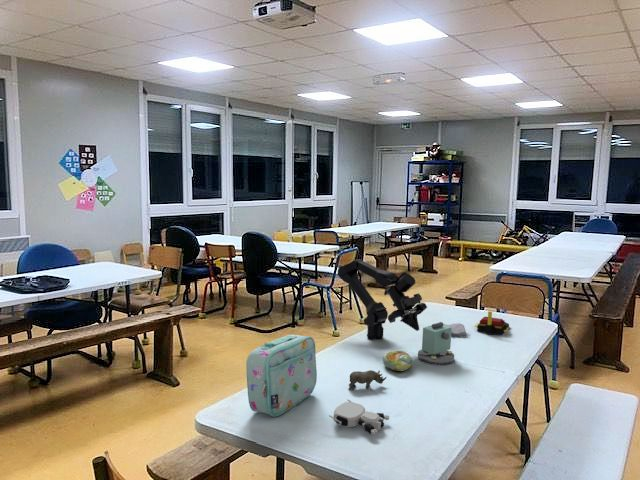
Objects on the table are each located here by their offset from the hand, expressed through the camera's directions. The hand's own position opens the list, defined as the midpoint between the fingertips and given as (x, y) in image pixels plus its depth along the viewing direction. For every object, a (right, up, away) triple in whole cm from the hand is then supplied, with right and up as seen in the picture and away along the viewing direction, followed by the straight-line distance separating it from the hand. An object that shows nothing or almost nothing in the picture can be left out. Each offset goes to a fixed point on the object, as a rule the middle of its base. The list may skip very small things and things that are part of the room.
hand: (418, 330), depth 208 cm
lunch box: (-52, -15, -48) cm, 72 cm away
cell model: (-11, -11, -16) cm, 22 cm away
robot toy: (-29, -17, -61) cm, 69 cm away
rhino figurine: (-24, -14, -34) cm, 44 cm away
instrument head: (+6, -6, -8) cm, 12 cm away
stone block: (+21, -7, +26) cm, 34 cm away
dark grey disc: (+6, -10, -7) cm, 13 cm away
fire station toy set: (+42, -6, +33) cm, 53 cm away
